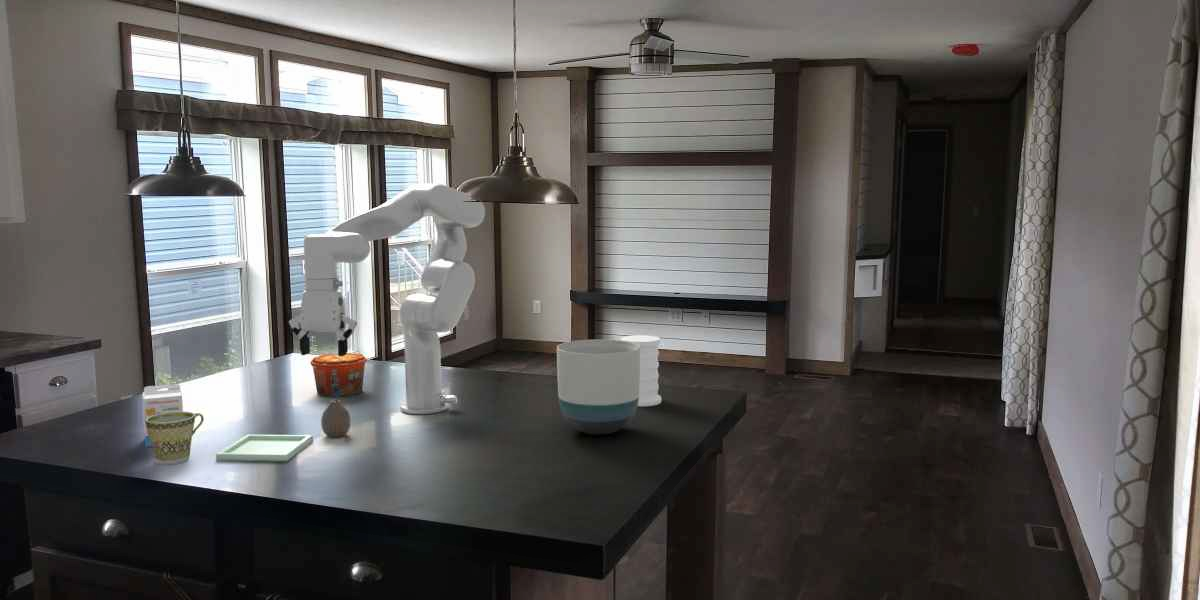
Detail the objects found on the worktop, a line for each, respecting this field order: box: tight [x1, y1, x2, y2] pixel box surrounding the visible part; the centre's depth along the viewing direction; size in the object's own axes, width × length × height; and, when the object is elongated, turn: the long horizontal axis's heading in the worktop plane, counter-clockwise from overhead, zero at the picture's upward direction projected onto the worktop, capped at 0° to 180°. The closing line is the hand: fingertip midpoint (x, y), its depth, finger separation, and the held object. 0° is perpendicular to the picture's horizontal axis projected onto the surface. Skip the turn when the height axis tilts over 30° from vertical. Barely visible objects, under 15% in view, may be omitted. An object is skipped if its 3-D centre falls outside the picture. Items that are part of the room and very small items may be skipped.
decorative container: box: [620, 334, 662, 407], centre depth 255 cm, size 12×12×18 cm
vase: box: [320, 399, 352, 439], centre depth 222 cm, size 7×7×9 cm
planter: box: [556, 339, 640, 436], centre depth 223 cm, size 20×20×21 cm
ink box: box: [142, 383, 184, 448], centre depth 218 cm, size 9×8×13 cm
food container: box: [310, 352, 368, 398], centre depth 268 cm, size 16×16×11 cm
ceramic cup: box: [145, 411, 205, 466], centre depth 204 cm, size 13×10×10 cm
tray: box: [215, 433, 314, 462], centre depth 210 cm, size 16×16×2 cm
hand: (324, 354), depth 222 cm, fingers open, 9 cm apart
